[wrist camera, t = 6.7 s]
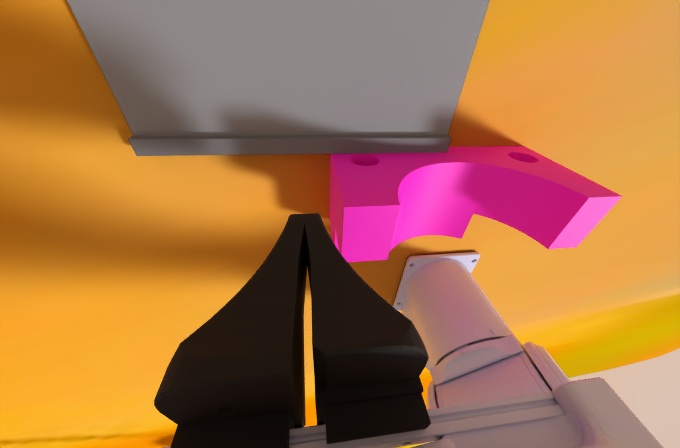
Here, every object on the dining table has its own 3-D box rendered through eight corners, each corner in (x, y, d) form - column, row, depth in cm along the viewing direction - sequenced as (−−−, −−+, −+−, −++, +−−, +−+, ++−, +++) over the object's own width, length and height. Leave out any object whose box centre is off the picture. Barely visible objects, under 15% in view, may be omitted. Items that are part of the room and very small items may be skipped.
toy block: (329, 218, 21) (339, 290, 15) (329, 147, 17) (344, 207, 11) (488, 210, 22) (552, 272, 17) (521, 145, 19) (622, 196, 13)
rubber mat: (440, 147, 18) (446, 152, 17) (145, 149, 15) (136, 155, 14) (518, -108, 10) (535, -120, 10) (-13, -178, 8) (-46, -200, 7)
